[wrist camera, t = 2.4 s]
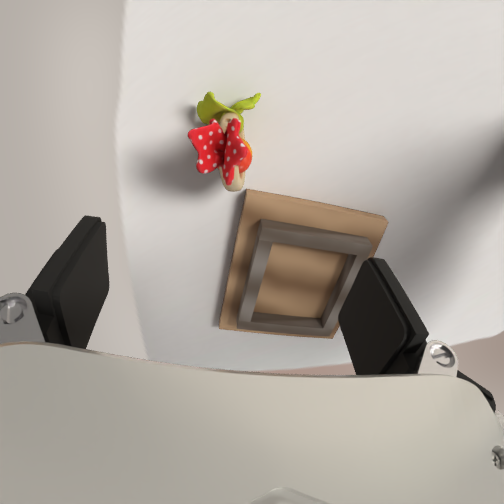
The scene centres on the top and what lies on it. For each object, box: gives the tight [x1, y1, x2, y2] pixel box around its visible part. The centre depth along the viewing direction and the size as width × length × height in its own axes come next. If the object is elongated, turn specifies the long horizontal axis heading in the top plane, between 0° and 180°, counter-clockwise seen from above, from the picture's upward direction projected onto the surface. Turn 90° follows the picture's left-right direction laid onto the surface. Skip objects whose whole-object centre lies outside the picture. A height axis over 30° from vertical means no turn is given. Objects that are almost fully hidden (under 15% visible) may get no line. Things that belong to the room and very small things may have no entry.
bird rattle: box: [188, 92, 261, 192], centre depth 27 cm, size 6×11×9 cm
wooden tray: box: [219, 189, 388, 339], centre depth 39 cm, size 20×17×4 cm
